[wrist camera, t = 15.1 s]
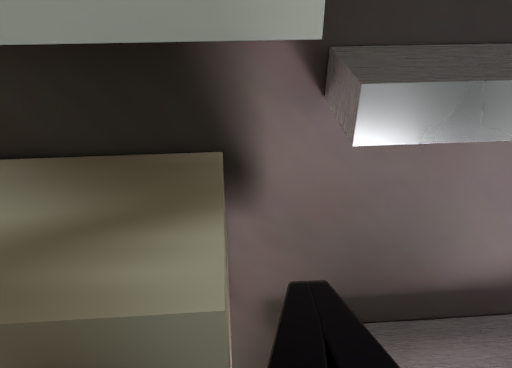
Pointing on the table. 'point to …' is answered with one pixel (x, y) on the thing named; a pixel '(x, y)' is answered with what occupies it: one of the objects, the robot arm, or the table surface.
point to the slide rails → (427, 132)
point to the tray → (158, 21)
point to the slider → (114, 262)
